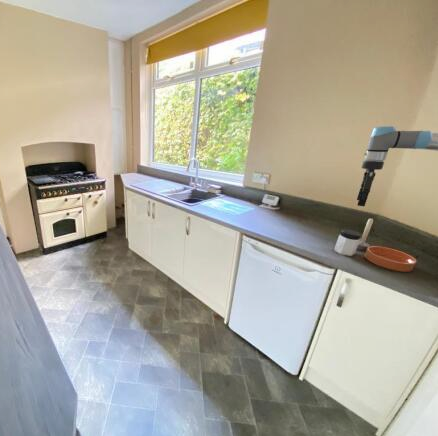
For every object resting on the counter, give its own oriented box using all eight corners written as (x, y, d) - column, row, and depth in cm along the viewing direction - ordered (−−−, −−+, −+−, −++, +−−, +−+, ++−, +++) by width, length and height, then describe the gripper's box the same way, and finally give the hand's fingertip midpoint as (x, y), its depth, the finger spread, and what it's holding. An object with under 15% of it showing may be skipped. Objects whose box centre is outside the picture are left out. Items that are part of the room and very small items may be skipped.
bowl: (408, 262, 119) (412, 253, 117) (415, 277, 106) (420, 268, 104) (363, 251, 129) (366, 243, 127) (364, 264, 116) (368, 255, 115)
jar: (330, 248, 132) (337, 228, 127) (344, 248, 132) (351, 228, 127) (343, 256, 123) (351, 235, 119) (358, 256, 124) (366, 235, 119)
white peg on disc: (367, 248, 133) (378, 218, 126) (367, 252, 128) (380, 221, 122) (352, 244, 136) (363, 215, 130) (352, 248, 132) (363, 218, 125)
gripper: (362, 158, 125) (351, 197, 132) (364, 162, 107) (351, 206, 114) (382, 159, 120) (368, 199, 127) (387, 163, 102) (371, 209, 109)
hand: (360, 202), depth 121 cm, fingers open, 13 cm apart
